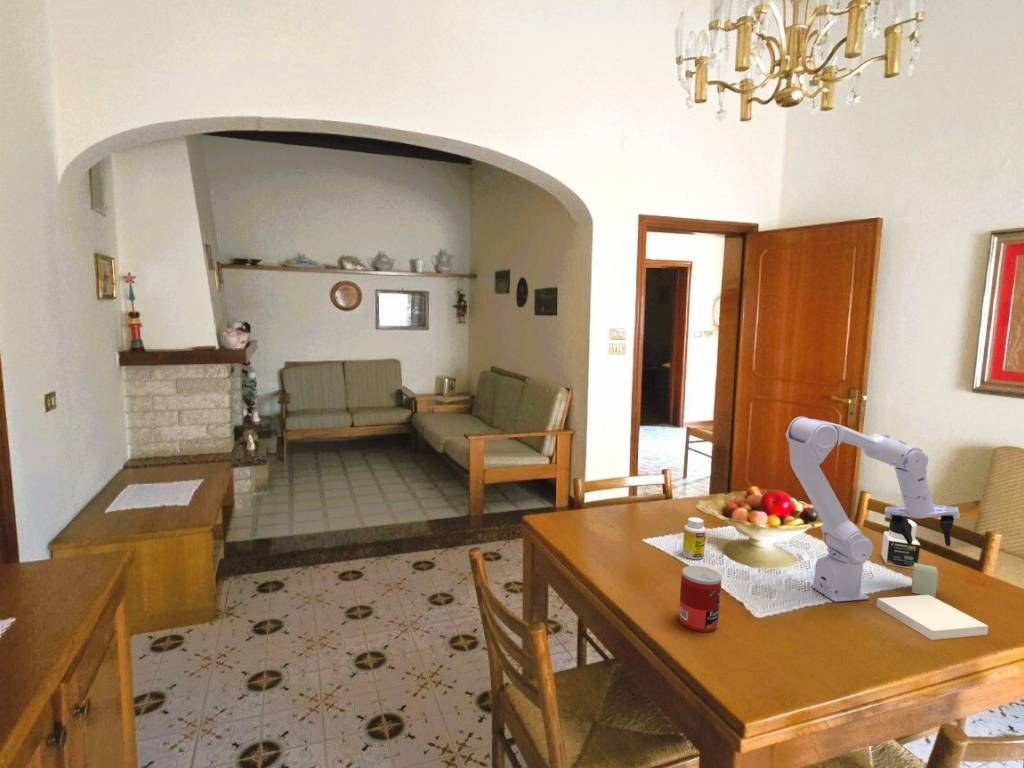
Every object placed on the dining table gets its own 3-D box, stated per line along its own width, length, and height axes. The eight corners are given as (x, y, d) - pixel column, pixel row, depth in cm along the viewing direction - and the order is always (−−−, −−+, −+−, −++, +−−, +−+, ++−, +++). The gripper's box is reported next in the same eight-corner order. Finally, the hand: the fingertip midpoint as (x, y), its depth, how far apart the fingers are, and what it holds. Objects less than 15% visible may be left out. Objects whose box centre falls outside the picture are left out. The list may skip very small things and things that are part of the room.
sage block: (935, 598, 139) (938, 573, 139) (912, 592, 142) (915, 569, 141) (933, 590, 143) (936, 567, 142) (911, 586, 145) (914, 562, 145)
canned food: (712, 637, 118) (717, 585, 117) (673, 625, 122) (677, 574, 121) (721, 621, 125) (725, 571, 123) (684, 610, 129) (687, 562, 128)
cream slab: (931, 642, 120) (932, 630, 120) (876, 608, 134) (877, 598, 133) (986, 637, 123) (988, 625, 123) (927, 604, 137) (928, 594, 136)
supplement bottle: (694, 561, 155) (697, 524, 154) (678, 554, 160) (680, 518, 159) (708, 557, 158) (711, 521, 157) (691, 550, 163) (694, 514, 162)
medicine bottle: (886, 565, 158) (891, 521, 156) (880, 555, 164) (885, 513, 163) (917, 570, 155) (922, 526, 154) (910, 560, 162) (915, 517, 160)
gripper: (954, 483, 137) (967, 535, 139) (883, 485, 147) (896, 533, 149) (951, 498, 132) (965, 551, 134) (878, 498, 142) (892, 548, 144)
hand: (929, 543), depth 141 cm, fingers open, 7 cm apart
